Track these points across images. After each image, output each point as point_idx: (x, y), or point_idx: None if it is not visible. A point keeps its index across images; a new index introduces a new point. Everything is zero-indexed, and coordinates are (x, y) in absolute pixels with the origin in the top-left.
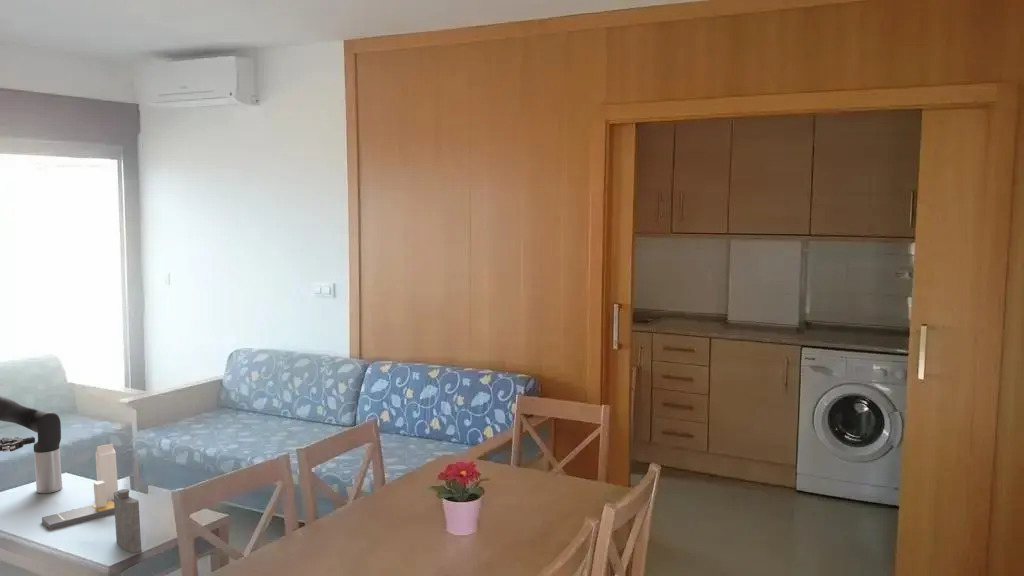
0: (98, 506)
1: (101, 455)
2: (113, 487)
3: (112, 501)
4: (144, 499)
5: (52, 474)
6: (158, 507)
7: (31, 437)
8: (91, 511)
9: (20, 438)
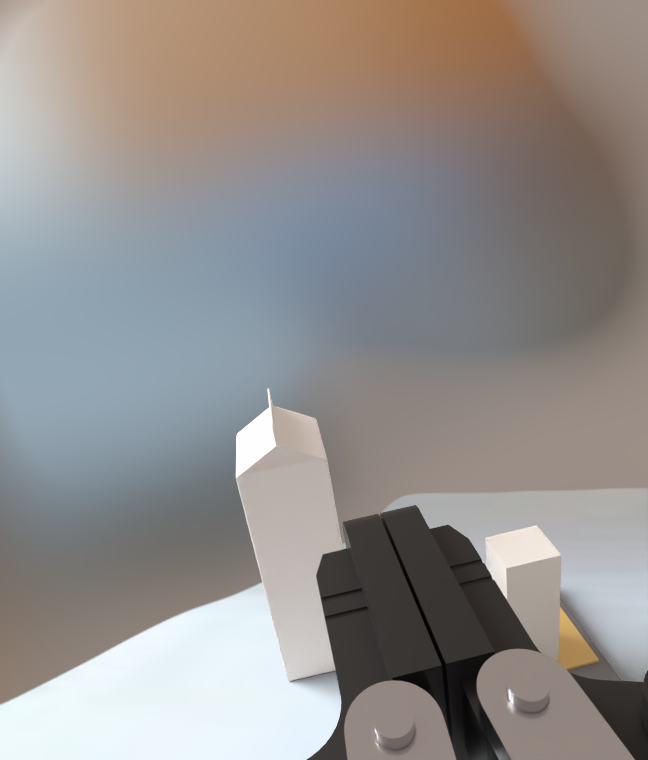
0: (556, 652)
1: (324, 453)
2: None
3: None
4: None
5: None
6: (539, 502)
7: (414, 531)
8: None
9: (416, 718)
